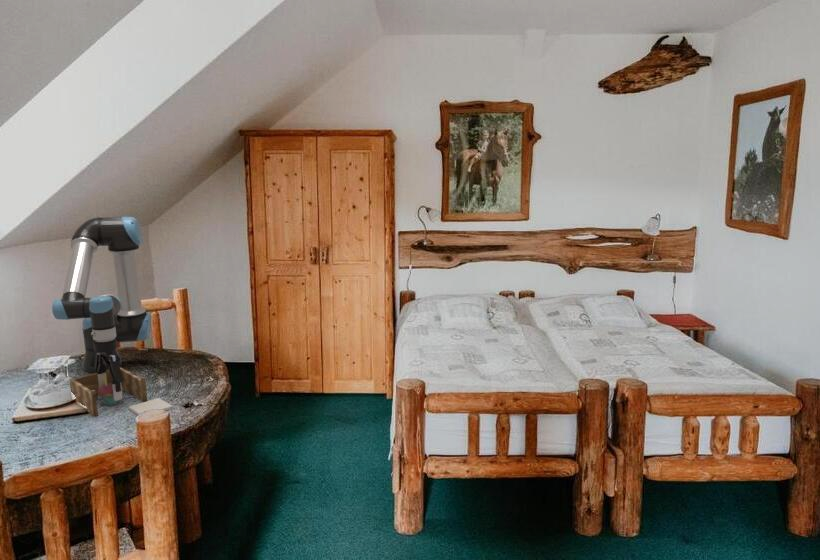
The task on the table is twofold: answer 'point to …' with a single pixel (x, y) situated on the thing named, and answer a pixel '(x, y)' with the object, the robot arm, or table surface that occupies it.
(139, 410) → the plate
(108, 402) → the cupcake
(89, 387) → the brown open-sided frame
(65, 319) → the robot arm
